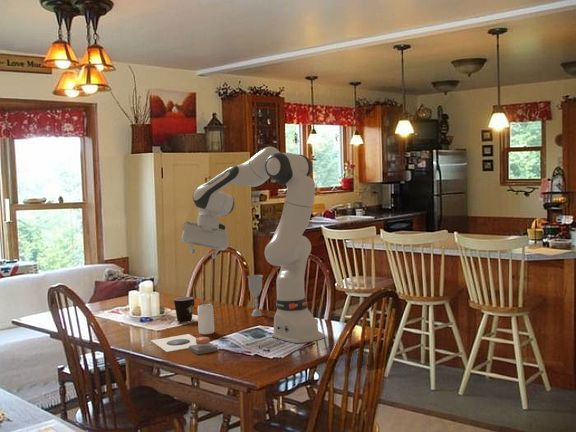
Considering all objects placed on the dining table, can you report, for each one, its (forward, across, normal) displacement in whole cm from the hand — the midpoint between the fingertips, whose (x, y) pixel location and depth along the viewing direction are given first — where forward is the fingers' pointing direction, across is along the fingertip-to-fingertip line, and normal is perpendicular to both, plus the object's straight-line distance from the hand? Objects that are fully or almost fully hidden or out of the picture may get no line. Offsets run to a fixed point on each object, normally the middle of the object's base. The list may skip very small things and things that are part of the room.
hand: (203, 255), depth 269 cm
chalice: (+17, +33, +18) cm, 42 cm away
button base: (+43, -1, -20) cm, 48 cm away
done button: (+41, -2, -21) cm, 46 cm away
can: (+32, +6, +2) cm, 33 cm away
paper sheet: (+39, -7, -6) cm, 40 cm away
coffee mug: (+22, +4, +28) cm, 36 cm away
